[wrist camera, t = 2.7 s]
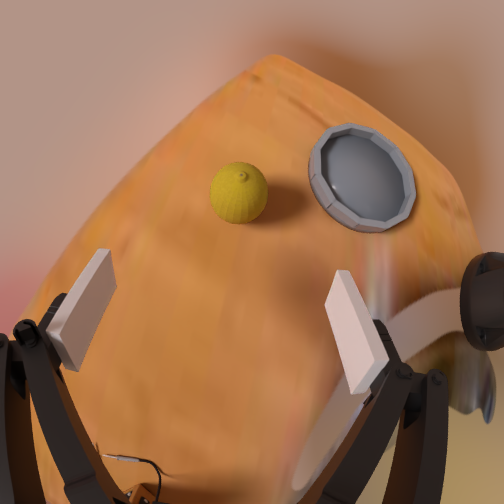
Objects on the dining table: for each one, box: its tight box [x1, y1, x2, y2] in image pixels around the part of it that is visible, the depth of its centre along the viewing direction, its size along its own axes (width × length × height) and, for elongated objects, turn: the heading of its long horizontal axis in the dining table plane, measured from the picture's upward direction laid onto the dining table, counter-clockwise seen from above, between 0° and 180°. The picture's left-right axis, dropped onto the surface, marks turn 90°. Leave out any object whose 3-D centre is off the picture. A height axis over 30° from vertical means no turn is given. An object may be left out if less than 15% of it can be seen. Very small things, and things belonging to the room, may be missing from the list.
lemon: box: [210, 162, 268, 224], centre depth 27 cm, size 6×6×8 cm
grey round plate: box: [308, 123, 416, 233], centre depth 32 cm, size 14×14×2 cm
